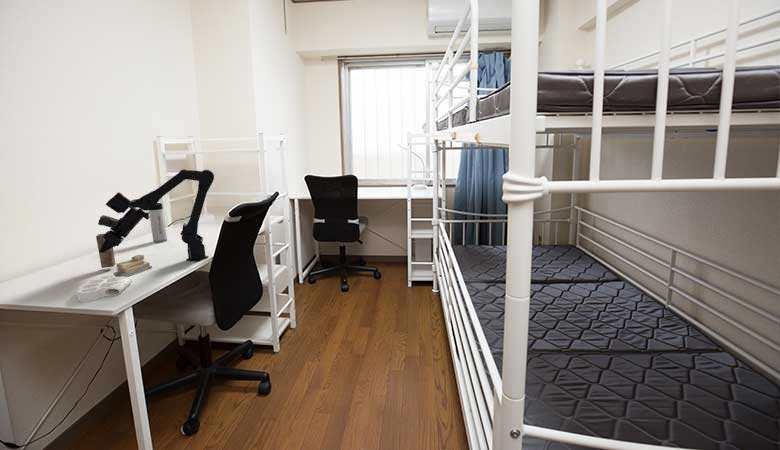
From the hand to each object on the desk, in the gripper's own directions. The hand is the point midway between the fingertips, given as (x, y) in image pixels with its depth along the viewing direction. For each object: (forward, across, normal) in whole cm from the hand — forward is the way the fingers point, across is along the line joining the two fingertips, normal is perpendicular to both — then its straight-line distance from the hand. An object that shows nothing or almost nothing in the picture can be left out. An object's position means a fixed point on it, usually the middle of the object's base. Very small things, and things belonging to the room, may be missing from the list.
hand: (102, 250), depth 164 cm
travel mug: (-5, -43, +16) cm, 47 cm away
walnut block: (+4, 0, +6) cm, 7 cm away
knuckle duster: (+2, +28, +10) cm, 30 cm away
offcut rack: (-2, +8, +13) cm, 16 cm away
